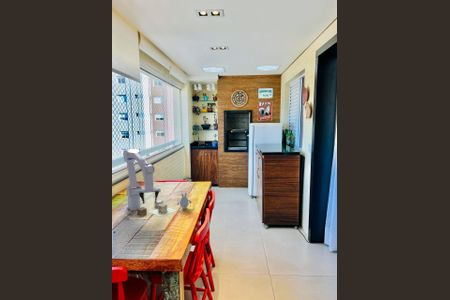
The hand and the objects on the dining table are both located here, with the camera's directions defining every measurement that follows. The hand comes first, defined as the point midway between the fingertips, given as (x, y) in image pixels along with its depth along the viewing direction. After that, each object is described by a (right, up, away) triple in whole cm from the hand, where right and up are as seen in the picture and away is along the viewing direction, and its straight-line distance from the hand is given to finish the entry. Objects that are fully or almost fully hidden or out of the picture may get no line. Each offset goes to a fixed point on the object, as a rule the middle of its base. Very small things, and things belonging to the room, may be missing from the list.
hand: (149, 202), depth 159 cm
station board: (+6, -8, +9) cm, 14 cm away
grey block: (+1, -7, +19) cm, 21 cm away
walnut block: (-7, -9, +5) cm, 13 cm away
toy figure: (+21, -8, +14) cm, 26 cm away
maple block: (+6, -8, +9) cm, 14 cm away
